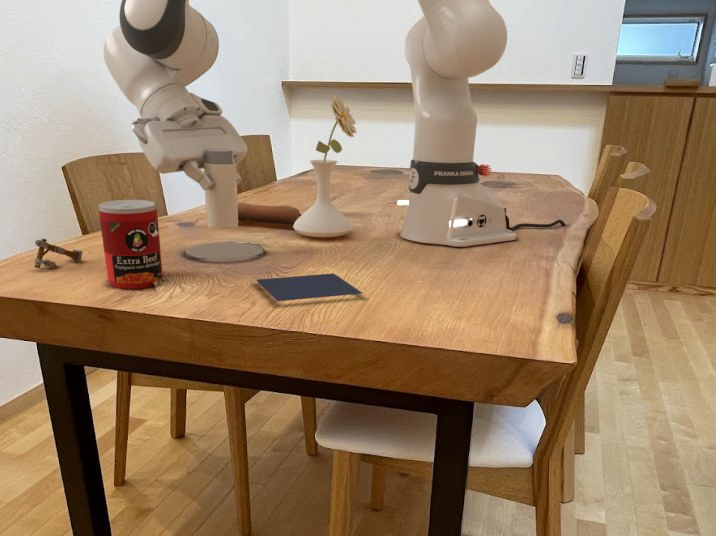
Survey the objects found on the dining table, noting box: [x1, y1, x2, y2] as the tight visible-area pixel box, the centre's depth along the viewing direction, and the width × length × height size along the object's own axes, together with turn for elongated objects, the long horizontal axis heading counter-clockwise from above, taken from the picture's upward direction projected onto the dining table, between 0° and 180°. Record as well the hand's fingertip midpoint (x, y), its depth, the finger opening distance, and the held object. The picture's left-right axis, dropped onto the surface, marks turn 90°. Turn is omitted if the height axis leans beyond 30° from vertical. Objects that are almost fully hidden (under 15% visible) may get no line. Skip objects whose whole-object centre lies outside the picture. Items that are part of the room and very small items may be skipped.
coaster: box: [185, 241, 264, 261], centre depth 112 cm, size 13×13×1 cm
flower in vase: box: [292, 94, 357, 239], centre depth 123 cm, size 13×11×25 cm
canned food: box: [98, 199, 164, 290], centre depth 93 cm, size 8×8×11 cm
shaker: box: [203, 149, 239, 230], centre depth 108 cm, size 5×5×12 cm
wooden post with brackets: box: [34, 238, 83, 269], centre depth 102 cm, size 2×8×4 cm, turn 151°
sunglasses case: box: [238, 202, 302, 226], centre depth 136 cm, size 18×7×7 cm, turn 73°
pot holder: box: [255, 272, 363, 302], centre depth 92 cm, size 12×11×1 cm
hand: (224, 185), depth 107 cm, fingers closed on shaker, 5 cm apart
